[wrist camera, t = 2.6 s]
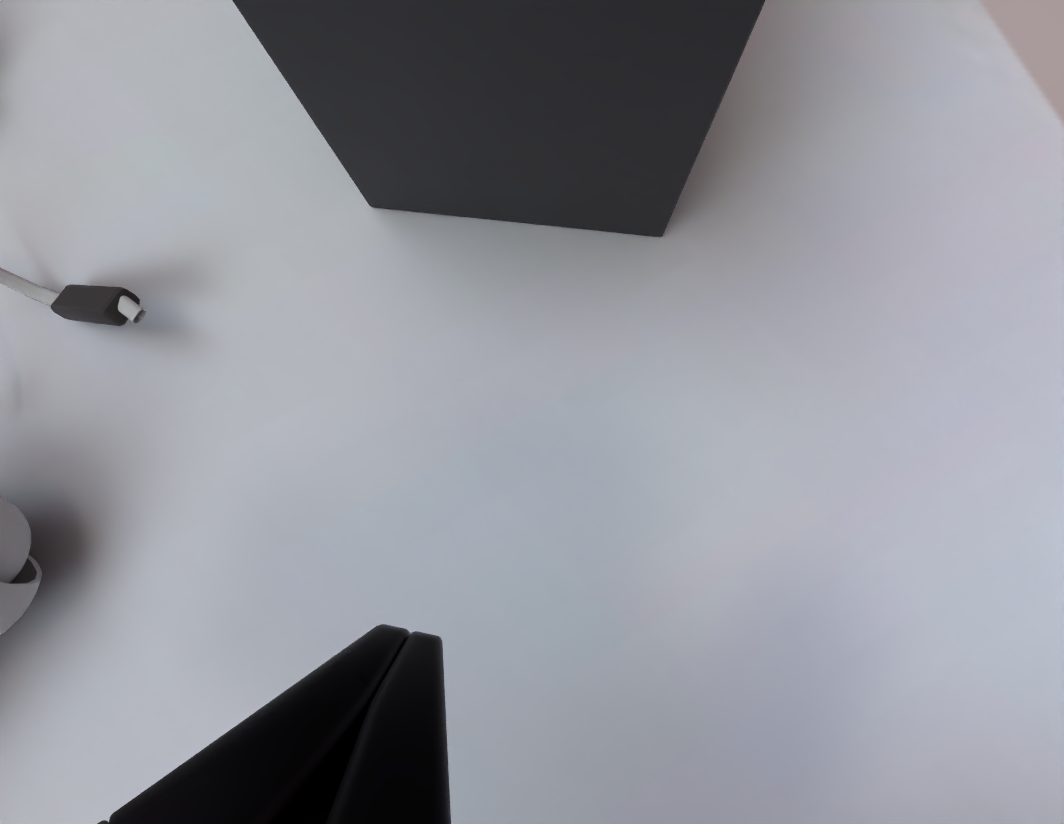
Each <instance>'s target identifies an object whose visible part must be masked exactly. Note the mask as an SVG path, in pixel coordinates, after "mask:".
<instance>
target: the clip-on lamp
mask: <svg viewBox="0 0 1064 824" xmlns="http://www.w3.org/2000/svg"><path fill="white" fill-rule="evenodd" d="M0 283H1V284H3V285H5V286H7V287H9V288H11V289H13V290H15V291H17V292H20V293H22V294H24V295H26V296H28V297H30V298H32V299H34V300H37V301H39V302H42V303H45V304H47V305H50V306H51V309H52V310H53V311H54V312H55V313H56V314H58V315H60V316H62V317H63V318H66V319H69V320H76V321H85V322H93V323H101V324H109V325H117V326H121V325H123V324H125V323H126V321H127V320H128V319H129V320H131V321H132V322H133V323H138V322H139V321H140V320H141V319H142V317H143V316H144V315H145V312H146V311H145V310H144V309H143V308H142V307H140V306H139V304H140V299H139V298H138V297H137V296H136V295H135V294H133V293H132V292H130V291H129V290H127V289H125V288H122V287H106V286H88V285H68V286H66V287H65V288H64V290H63V291H62V292H61V293H58V292H55V291H53V290H50V289H47V288H44V287H41V286H39V285H37V284H34V283H32V282H30V281H28V280H26V279H24V278H21V277H19V276H17V275H15V274H13V273H11V272H8V271H6V270H4V269H2V268H0ZM30 546H31V530H30V527H29V524H28V522H27V520H26V518H25V517H24V515H23V513H22V512H21V511H20V510H19V509H18V508H17V507H16V506H15V505H14V504H12V503H11V502H10V501H8V500H6V499H5V498H3V497H1V496H0V635H1V634H3V633H4V632H5V631H7V630H8V629H9V628H10V627H11V626H12V625H13V624H14V623H15V622H16V621H17V620H18V619H19V618H20V617H21V616H22V615H23V613H24V612H25V611H26V609H27V608H28V607H29V606H30V604H31V602H32V600H33V598H34V596H35V595H36V593H37V590H38V587H39V584H40V581H41V577H42V570H41V568H40V567H39V565H38V563H37V562H36V561H35V560H34V559H33V558H32V557H31V556H30V555H29V551H30Z"/></svg>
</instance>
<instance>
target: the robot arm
mask: <svg viewBox="0 0 1064 824" xmlns="http://www.w3.org/2000/svg"><path fill="white" fill-rule="evenodd" d="M98 824H451V814H450V794H449V773H448V752H447V731H446V710H445V690H444V669H443V648H442V640H441V638H440V637H439V636H435V635H431V634H426V633H422V632H417V631H415V632H412V633H411V634H410V632H409V631H408V630H407V629H403V628H399V627H394V626H390V625H385V624H382V625H379V626H376V627H375V628H373V629H372V630H371V631H369V632H368V633H366V634H365V635H363V636H362V637H361V638H359V639H358V640H356V641H355V642H354V643H352V644H351V645H349V646H348V647H347V648H345V649H344V650H342V651H341V652H340V653H338V654H337V655H335V656H334V657H332V658H331V659H330V660H328V661H327V662H325V663H324V664H323V665H321V666H320V667H318V668H317V669H316V670H314V671H313V672H311V673H310V674H309V675H307V676H306V677H304V678H303V679H301V680H300V681H299V682H297V683H296V684H294V685H293V686H292V687H290V688H289V689H287V690H286V691H285V692H283V693H282V694H280V695H279V696H278V697H276V698H275V699H273V700H272V701H270V702H269V703H268V704H266V705H265V706H263V707H262V708H261V709H259V710H258V711H256V712H255V713H254V714H252V715H251V716H249V717H248V718H247V719H245V720H244V721H242V722H241V723H239V724H238V725H237V726H235V727H234V728H232V729H231V730H230V731H228V732H227V733H225V734H224V735H223V736H221V737H220V738H218V739H217V740H216V741H214V742H213V743H211V744H210V745H208V746H207V747H206V748H204V749H203V750H201V751H200V752H199V753H197V754H196V755H194V756H193V757H192V758H190V759H189V760H187V761H186V762H185V763H183V764H182V765H180V766H179V767H177V768H176V769H175V770H173V771H172V772H170V773H169V774H168V775H166V776H165V777H163V778H162V779H161V780H159V781H158V782H156V783H155V784H154V785H152V786H151V787H149V788H148V789H146V790H145V791H144V792H142V793H141V794H139V795H138V796H137V797H135V798H134V799H132V800H131V801H130V802H128V803H127V804H125V805H124V806H123V807H121V808H120V809H118V810H117V811H115V812H114V813H113V814H112V815H111V817H110V820H109V823H108V821H105V820H104V821H101V822H99V823H98Z"/></svg>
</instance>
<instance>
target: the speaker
mask: <svg viewBox="0 0 1064 824" xmlns="http://www.w3.org/2000/svg"><path fill="white" fill-rule="evenodd" d="M233 2H234V3H235V5H236V6H237V8H238V9H239V11H240V12H241V14H242V15H243V17H244V18H245V20H246V21H247V23H248V24H249V26H250V27H251V29H252V30H253V32H254V33H255V35H256V36H257V38H258V39H259V41H260V42H261V44H262V45H263V47H264V48H265V50H266V51H267V53H268V54H269V56H270V57H271V59H272V60H273V62H274V63H275V65H276V66H277V68H278V69H279V71H280V72H281V74H282V75H283V77H284V78H285V80H286V81H287V83H288V84H289V86H290V87H291V89H292V90H293V92H294V93H295V95H296V96H297V98H298V99H299V101H300V102H301V104H302V105H303V107H304V108H305V110H306V111H307V113H308V114H309V116H310V117H311V119H312V120H313V122H314V123H315V125H316V126H317V128H318V129H319V131H320V132H321V134H322V135H323V137H324V138H325V140H326V141H327V143H328V144H329V146H330V147H331V149H332V150H333V152H334V153H335V154H336V156H337V157H338V159H339V160H340V162H341V163H342V165H343V166H344V168H345V169H346V171H347V172H348V174H349V175H350V177H351V178H352V180H353V181H354V183H355V184H356V186H357V187H358V189H359V190H360V192H361V193H362V195H363V196H364V198H365V199H366V201H367V202H368V204H369V205H370V206H371V207H377V208H387V209H396V210H406V211H416V212H425V213H435V214H445V215H455V216H464V217H474V218H484V219H493V220H503V221H513V222H522V223H532V224H542V225H551V226H561V227H571V228H580V229H590V230H600V231H610V232H619V233H629V234H639V235H648V236H658V237H661V236H662V235H663V233H664V231H665V228H666V226H667V224H668V221H669V219H670V217H671V215H672V212H673V210H674V208H675V205H676V203H677V201H678V199H679V196H680V194H681V192H682V190H683V187H684V185H685V183H686V180H687V178H688V176H689V174H690V171H691V169H692V167H693V164H694V162H695V160H696V158H697V155H698V153H699V151H700V148H701V146H702V144H703V142H704V139H705V137H706V135H707V132H708V130H709V128H710V126H711V123H712V121H713V119H714V116H715V114H716V112H717V110H718V107H719V105H720V103H721V100H722V98H723V96H724V94H725V91H726V89H727V87H728V85H729V82H730V80H731V78H732V75H733V73H734V71H735V69H736V66H737V64H738V62H739V59H740V57H741V55H742V53H743V50H744V48H745V46H746V43H747V41H748V39H749V37H750V34H751V32H752V30H753V27H754V25H755V23H756V21H757V18H758V16H759V14H760V11H761V9H762V7H763V5H764V2H765V0H233Z"/></svg>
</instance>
